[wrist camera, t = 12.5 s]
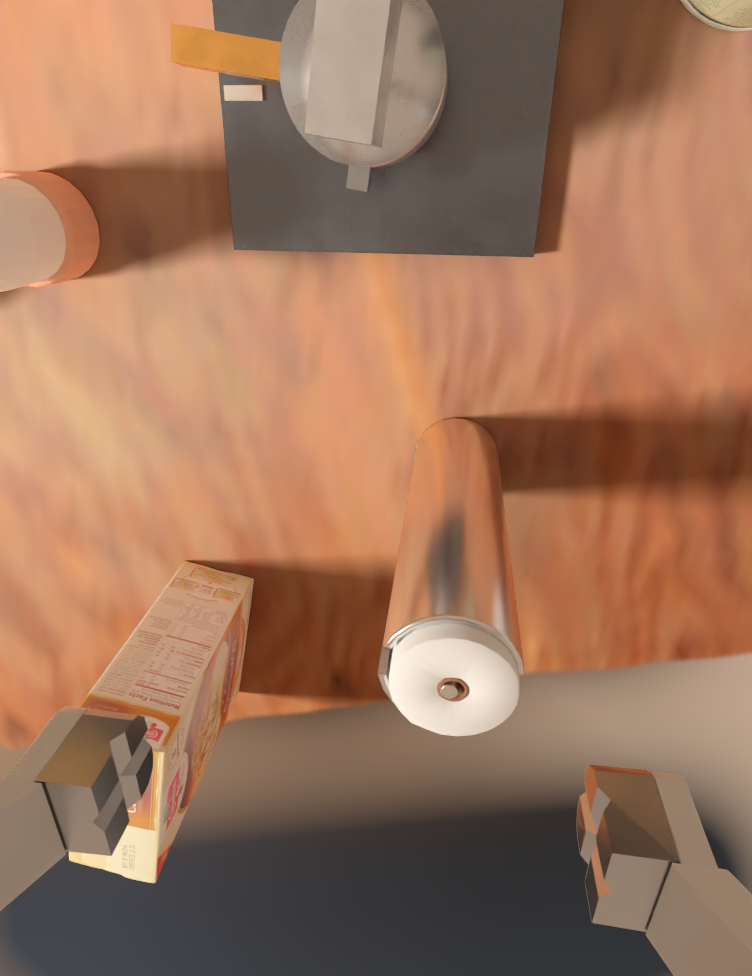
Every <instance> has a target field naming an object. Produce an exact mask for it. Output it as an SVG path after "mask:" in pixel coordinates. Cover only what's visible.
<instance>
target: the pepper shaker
mask: <svg viewBox="0 0 752 976" xmlns="http://www.w3.org/2000/svg"><path fill="white" fill-rule="evenodd" d="M99 245H100V236H99V227H98V223H97V220H96V218H95V215H94V212H93V210H92V207H91V206H90V204H89V203H88V202H87V200H86V199H85V197H84V196H83V194H82V193H81V192H80V191H79V190H78V189H77V188H76V187H74V186H73V185H72V184H71V183H70V182H69V181H68V180H66V179H64V178H62V177H59V176H57V175H55V174H53V173H49V172H40V171H2V172H0V292H4V291H8V290H12V289H16V288H20V287H23V286H30V287H38V288H40V287H44V286H48V285H52V284H56V283H60V282H64V281H67V280H71V279H75V278H79V277H80V276H82V275H83V274H84V273H86V272H87V271H88V270H90V268H91V267H92V265H93V263H94V262H95V260H96V258H97V255H98V250H99Z"/></svg>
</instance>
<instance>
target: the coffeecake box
mask: <svg viewBox="0 0 752 976" xmlns="http://www.w3.org/2000/svg"><path fill="white" fill-rule="evenodd" d="M253 584H254V579H253V578H250V577H247V576H242V575H238V574H235V573H229V572H224V571H219V570H216V569H213V568H210V567H207V566H203V565H199V564H196V563H192V562H188V561H184V562H183V563H182V565H181V566H180V568H179V569H178V570H177V572H176V573H175V574H174V576H173V577H172V579H171V580H170V581H169V583H168V584H167V586H166V587H165V588H164V590H163V591H162V593H161V594H160V595H159V597H158V598H157V600H156V601H155V602H154V604H153V605H152V606H151V608H150V609H149V611H148V612H147V613H146V615H145V616H144V618H143V619H142V620H141V622H140V623H139V624H138V626H137V627H136V629H135V630H134V631H133V633H132V634H131V635H130V637H129V638H128V640H127V641H126V642H125V644H124V645H123V647H122V648H121V649H120V651H119V652H118V654H117V655H116V656H115V658H114V659H113V660H112V662H111V663H110V664H109V666H108V667H107V669H106V670H105V672H104V673H103V674H102V676H101V677H100V678H99V680H98V681H97V683H96V684H95V685H94V687H93V688H92V689H91V691H90V692H89V694H88V695H87V697H86V698H85V699H84V701H83V702H82V703H81V705H80V706H79V707H80V708H88V709H97V710H104V711H111V712H118V713H125V714H132V715H139V716H144V717H145V721H146V725H147V728H148V730H147V731H146V733H145V735H144V737H143V738H144V739H145V740H146V741H147V742H148V743H149V744H150V745H151V746H152V751H153V769H152V773H151V777H150V781H149V784H148V786H147V788H146V790H145V792H144V794H143V796H142V798H141V799H140V800H139V801H138V802H136V803H135V804H133V805H132V806H131V807H129V808H128V815H129V820H130V822H129V823H128V825H127V827H126V829H125V831H124V833H123V835H122V837H121V839H120V841H119V842H118V844H117V846H116V848H115V850H114V852H113V854H112V856H106V855H97V854H87V853H78V852H69V860H70V861H73V862H76V863H80V864H84V865H88V866H91V867H96V868H100V869H105V870H106V871H111V872H114V873H118V874H121V875H122V876H124V877H127V878H130V879H135V880H139V881H144V882H150V883H155V882H156V881H157V878H158V875H159V873H160V870H161V868H162V866H163V863H164V861H165V859H166V856H167V854H168V851H169V849H170V847H171V844H172V842H173V840H174V837H175V835H176V833H177V831H178V828H179V826H180V824H181V821H182V819H183V817H184V815H185V812H186V810H187V808H188V805H189V803H190V801H191V799H192V796H193V794H194V792H195V789H196V787H197V785H198V782H199V780H200V778H201V776H202V773H203V771H204V769H205V766H206V764H207V761H208V759H209V757H210V755H211V752H212V750H213V748H214V745H215V743H216V741H217V739H218V736H219V734H220V732H221V729H222V727H223V725H224V722H225V720H226V718H227V716H228V713H229V711H230V709H231V707H232V704H233V702H234V700H235V698H236V696H237V694H238V693H239V687H240V681H241V674H242V667H243V660H244V652H245V645H246V638H247V630H248V623H249V615H250V607H251V600H252V592H253Z"/></svg>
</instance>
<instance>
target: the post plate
mask: <svg viewBox="0 0 752 976" xmlns="http://www.w3.org/2000/svg"><path fill="white" fill-rule="evenodd" d="M298 1H299V0H212V3H213V14H214V25H215V31H219V32H225V33H231V34H237V35H242V36H248V37H254V38H260V39H266V40H271V41H277V42H281V41H282V37H283V33H284V30H285V27H286V24H287V21H288V19H289V17H290V15H291V13H292V11H293V9H294V7H295V6H296V4H297V3H298ZM426 1H427V3H428V4H429V6H430V7H431V9H432V11H433V13H434V15H435V17H436V19H437V22H438V25H439V28H440V31H441V34H442V39H443V43H444V49H445V55H446V62H447V71H448V87H447V95H446V100H445V105H444V109H443V111H442V114H441V117H440V120H439V122H438V124H437V126H436V128H435V129H434V131H433V133H432V134H431V136H430V137H429V138H428V140H427V141H426V142H425V143H424V144H423V146H422V147H420V148H419V149H418V150H417V151H416V152H415V153H414V154H412V155H411V156H409V157H408V158H406V159H404V160H402V161H400V162H398V163H396V164H393V165H390V166H385V167H374V168H373V172H372V179H371V186H370V192H364V191H359V190H353V189H348V188H346V185H347V177H348V168H349V165H346V164H342V163H339V162H336V161H334V160H331V159H329V158H328V157H326V156H324V155H322V154H321V153H320V152H318V151H317V150H316V149H314V148H313V147H312V146H311V145H310V144H309V143H308V142H307V141H306V140H305V139H304V138H303V136H302V135H301V134H300V132H299V131H298V130H297V128H296V126H295V125H294V123H293V121H292V120H291V117H290V115H289V113H288V111H287V108H286V105H285V102H284V99H283V96H282V91H281V86H280V83H275V82H270V81H264V80H258V79H253V78H247V77H241V76H236V75H230V74H224V73H219V82H220V94H221V105H222V116H223V128H224V139H225V150H226V162H227V173H228V184H229V196H230V207H231V219H232V230H233V241H234V250H273V251H313V252H353V253H392V254H432V255H472V256H512V257H534V250H535V242H536V233H537V225H538V216H539V208H540V199H541V191H542V183H543V174H544V166H545V157H546V149H547V140H548V132H549V123H550V115H551V107H552V98H553V90H554V81H555V73H556V64H557V56H558V47H559V39H560V31H561V22H562V14H563V5H564V0H426Z"/></svg>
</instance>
